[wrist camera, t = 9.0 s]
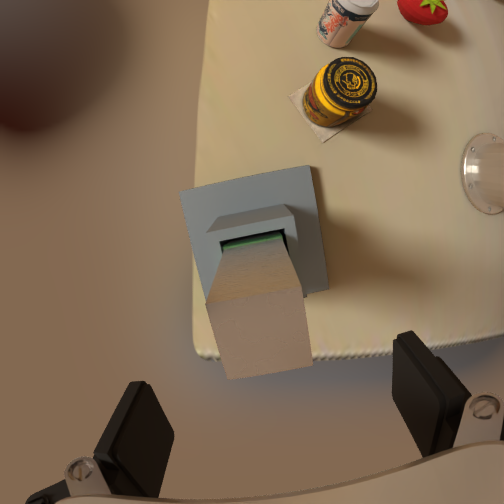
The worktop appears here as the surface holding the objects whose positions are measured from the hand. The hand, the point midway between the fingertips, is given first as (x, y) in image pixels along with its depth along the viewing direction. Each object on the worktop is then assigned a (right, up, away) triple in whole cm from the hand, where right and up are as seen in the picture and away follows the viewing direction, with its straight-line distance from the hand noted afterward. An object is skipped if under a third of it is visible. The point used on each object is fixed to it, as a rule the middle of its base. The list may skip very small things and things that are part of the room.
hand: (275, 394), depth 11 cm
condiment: (+9, +24, +26) cm, 36 cm away
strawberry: (+22, +39, +22) cm, 50 cm away
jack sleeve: (0, +7, +30) cm, 31 cm away
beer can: (+10, +34, +23) cm, 42 cm away
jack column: (0, +5, +22) cm, 23 cm away
